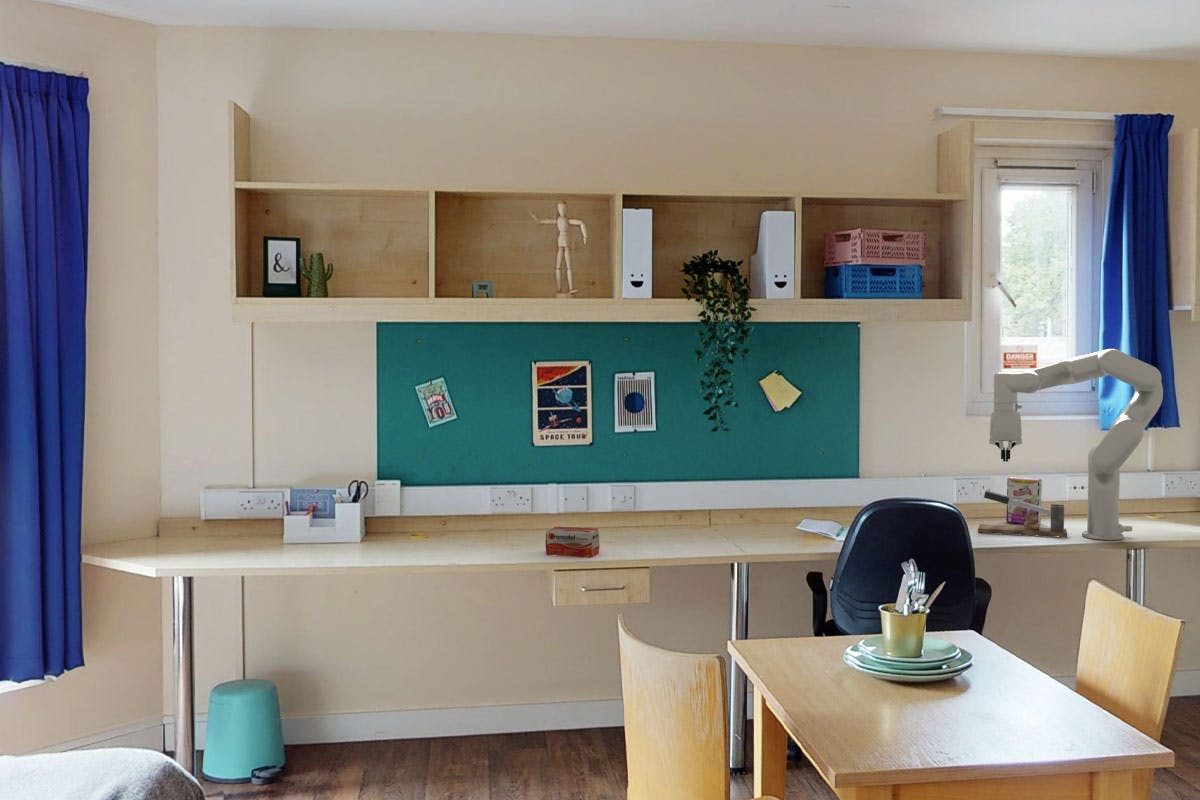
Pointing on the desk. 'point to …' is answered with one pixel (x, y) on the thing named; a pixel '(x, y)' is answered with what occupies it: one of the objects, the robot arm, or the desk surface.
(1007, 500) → the lever
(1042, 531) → the press base
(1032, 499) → the candy bar box
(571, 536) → the medicine box
